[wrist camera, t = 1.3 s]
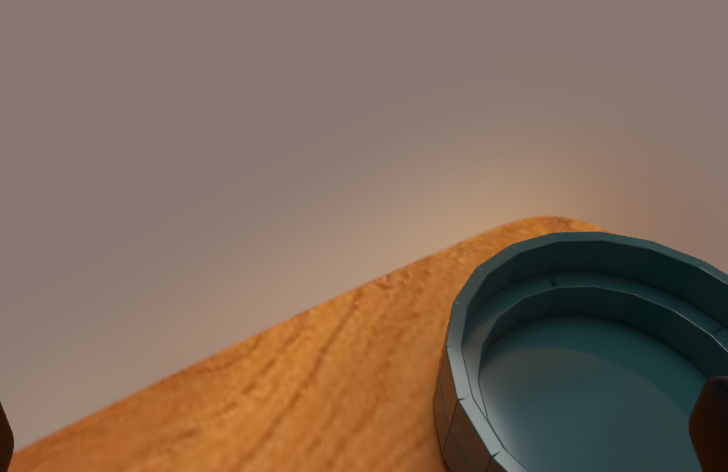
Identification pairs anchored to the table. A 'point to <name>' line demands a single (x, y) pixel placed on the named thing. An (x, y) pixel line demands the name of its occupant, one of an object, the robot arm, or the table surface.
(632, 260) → the bowl
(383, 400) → the table surface
